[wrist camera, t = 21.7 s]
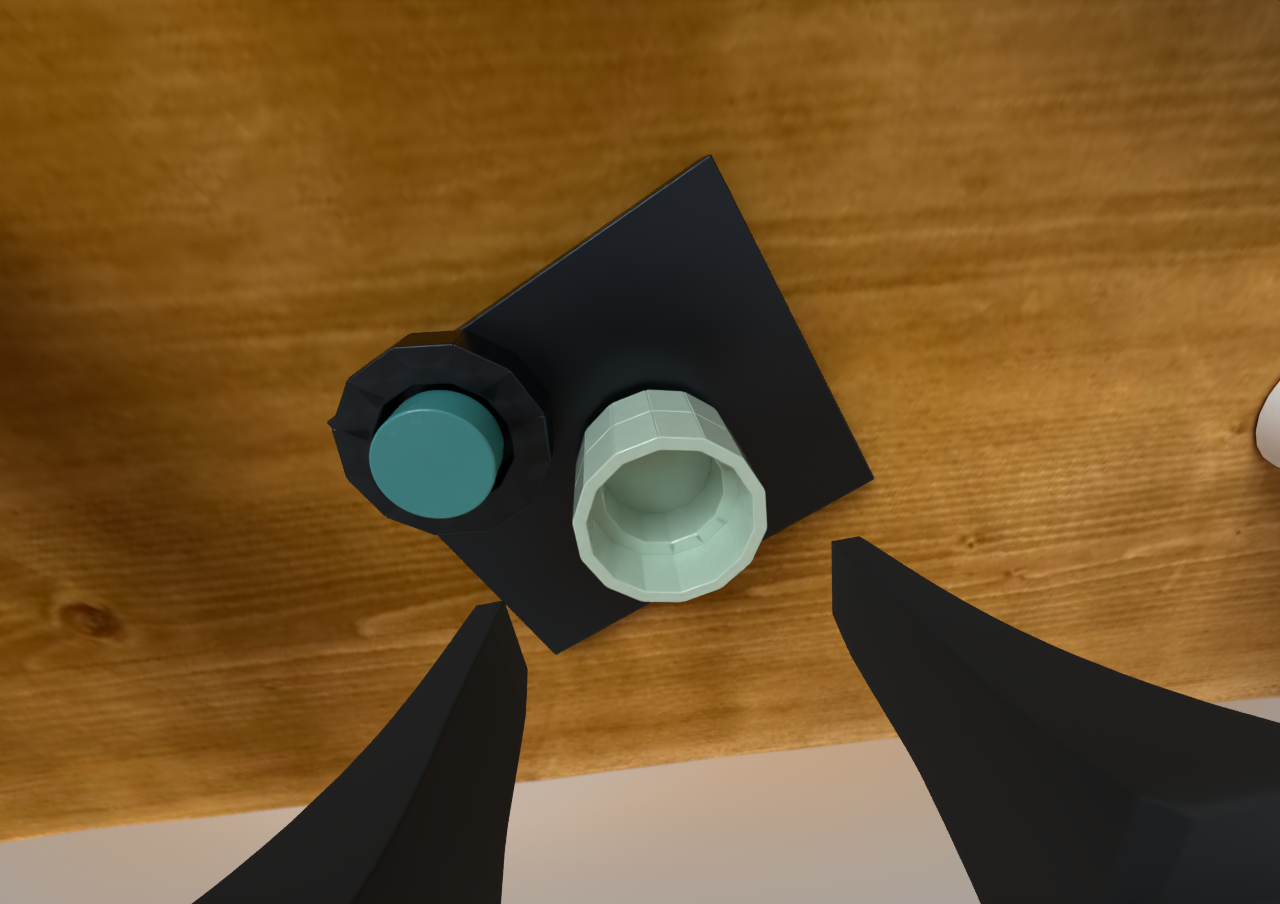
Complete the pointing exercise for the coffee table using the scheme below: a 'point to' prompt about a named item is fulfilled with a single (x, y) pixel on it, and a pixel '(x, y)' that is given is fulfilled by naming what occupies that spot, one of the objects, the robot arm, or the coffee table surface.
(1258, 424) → the cup
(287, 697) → the coffee table surface
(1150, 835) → the robot arm
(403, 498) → the button
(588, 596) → the scale
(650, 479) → the pale green handleless cup
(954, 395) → the coffee table surface
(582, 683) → the coffee table surface
